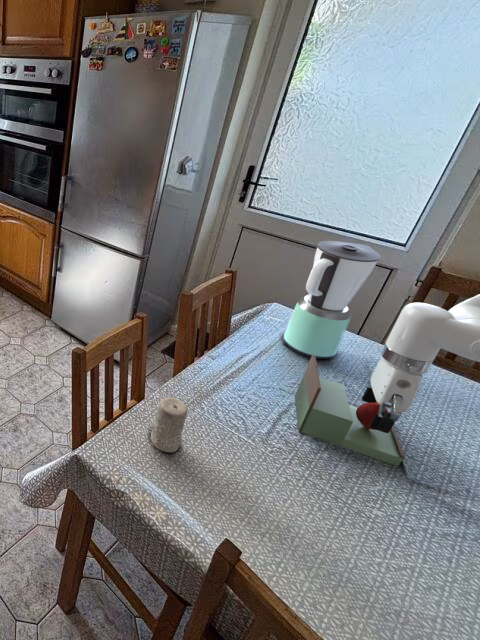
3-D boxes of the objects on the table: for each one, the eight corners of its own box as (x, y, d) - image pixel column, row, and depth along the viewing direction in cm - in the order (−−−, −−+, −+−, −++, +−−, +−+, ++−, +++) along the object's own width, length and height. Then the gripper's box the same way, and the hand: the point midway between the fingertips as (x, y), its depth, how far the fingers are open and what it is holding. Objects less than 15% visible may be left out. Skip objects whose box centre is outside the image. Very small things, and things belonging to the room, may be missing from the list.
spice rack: (384, 424, 102) (408, 380, 96) (398, 466, 91) (427, 420, 85) (294, 396, 111) (312, 354, 105) (298, 431, 100) (318, 387, 94)
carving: (179, 437, 99) (190, 399, 94) (177, 461, 93) (188, 422, 88) (151, 427, 102) (160, 390, 97) (147, 450, 96) (156, 412, 91)
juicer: (302, 331, 137) (341, 234, 122) (348, 355, 126) (397, 251, 111) (262, 344, 131) (298, 244, 116) (306, 370, 120) (352, 263, 105)
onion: (389, 434, 96) (404, 408, 93) (372, 440, 95) (386, 414, 91) (361, 415, 101) (375, 391, 98) (345, 421, 100) (357, 396, 96)
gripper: (443, 388, 81) (405, 449, 88) (418, 342, 94) (386, 398, 101) (391, 374, 84) (359, 434, 92) (374, 331, 97) (347, 387, 105)
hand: (374, 415), depth 96 cm, fingers open, 9 cm apart
